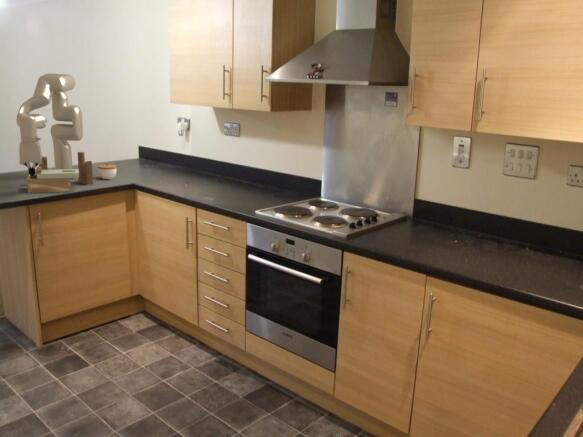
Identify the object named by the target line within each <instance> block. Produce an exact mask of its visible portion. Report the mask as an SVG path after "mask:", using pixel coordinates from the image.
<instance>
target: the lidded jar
mask: <svg viewBox="0 0 583 437" xmlns="http://www.w3.org/2000/svg"><path fill="white" fill-rule="evenodd" d="M117 170H118V168H117V165H116V164H109V162H107V163H105V164H100V165H97V172H98V175H99V177H100V178H101V179H102V180H104V179H110V180H114V178H115V177H116V175H117Z"/></svg>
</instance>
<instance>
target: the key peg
mask: <svg viewBox="0 0 583 437" xmlns="http://www.w3.org/2000/svg"><path fill="white" fill-rule="evenodd" d="M42 162H43V163H42V164H40V165H38V167H39V166H42V170H49V168H48V157H47V156H42Z"/></svg>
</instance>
